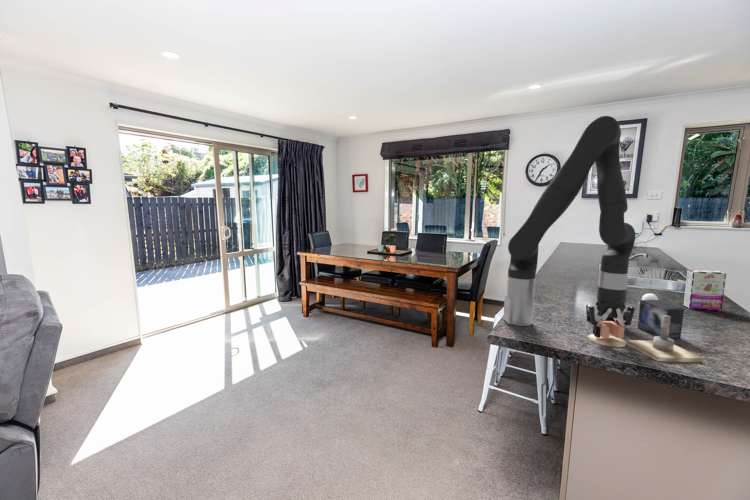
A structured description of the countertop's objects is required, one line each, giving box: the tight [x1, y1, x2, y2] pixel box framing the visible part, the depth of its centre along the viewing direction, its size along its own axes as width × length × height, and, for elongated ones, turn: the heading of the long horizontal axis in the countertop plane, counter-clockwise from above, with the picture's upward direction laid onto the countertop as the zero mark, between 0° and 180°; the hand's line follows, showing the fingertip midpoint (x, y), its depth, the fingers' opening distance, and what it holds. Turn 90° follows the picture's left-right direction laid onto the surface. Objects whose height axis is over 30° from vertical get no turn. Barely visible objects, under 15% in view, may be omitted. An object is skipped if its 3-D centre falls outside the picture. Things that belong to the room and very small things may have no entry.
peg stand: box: [626, 315, 703, 363], centre depth 98 cm, size 12×12×11 cm
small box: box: [637, 299, 685, 340], centre depth 114 cm, size 11×6×10 cm, turn 5°
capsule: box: [641, 293, 659, 300], centre depth 136 cm, size 5×5×8 cm
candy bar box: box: [683, 269, 727, 311], centre depth 141 cm, size 11×5×16 cm, turn 73°
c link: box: [591, 321, 626, 339], centre depth 107 cm, size 6×6×4 cm
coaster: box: [588, 333, 627, 348], centre depth 108 cm, size 10×10×1 cm
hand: (607, 336), depth 107 cm, fingers closed on c link, 5 cm apart
